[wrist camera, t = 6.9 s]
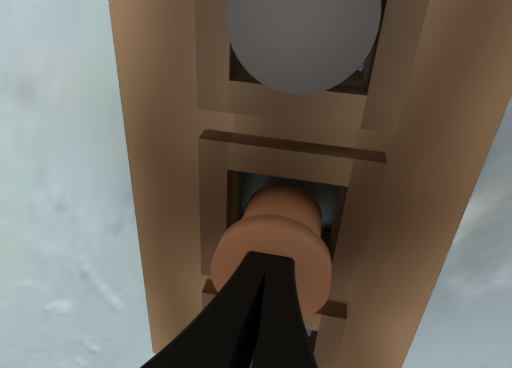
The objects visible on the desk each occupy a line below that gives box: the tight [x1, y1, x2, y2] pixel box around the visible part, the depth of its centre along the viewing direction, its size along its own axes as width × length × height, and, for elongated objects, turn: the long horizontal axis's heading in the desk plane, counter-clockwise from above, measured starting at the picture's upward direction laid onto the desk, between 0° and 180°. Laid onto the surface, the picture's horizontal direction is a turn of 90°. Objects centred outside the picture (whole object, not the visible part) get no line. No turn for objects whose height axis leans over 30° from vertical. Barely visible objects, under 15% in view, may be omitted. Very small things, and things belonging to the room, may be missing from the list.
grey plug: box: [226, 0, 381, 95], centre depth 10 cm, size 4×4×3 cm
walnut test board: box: [108, 0, 512, 368], centre depth 15 cm, size 12×24×3 cm, turn 177°
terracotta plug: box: [210, 183, 332, 319], centre depth 13 cm, size 4×4×3 cm
